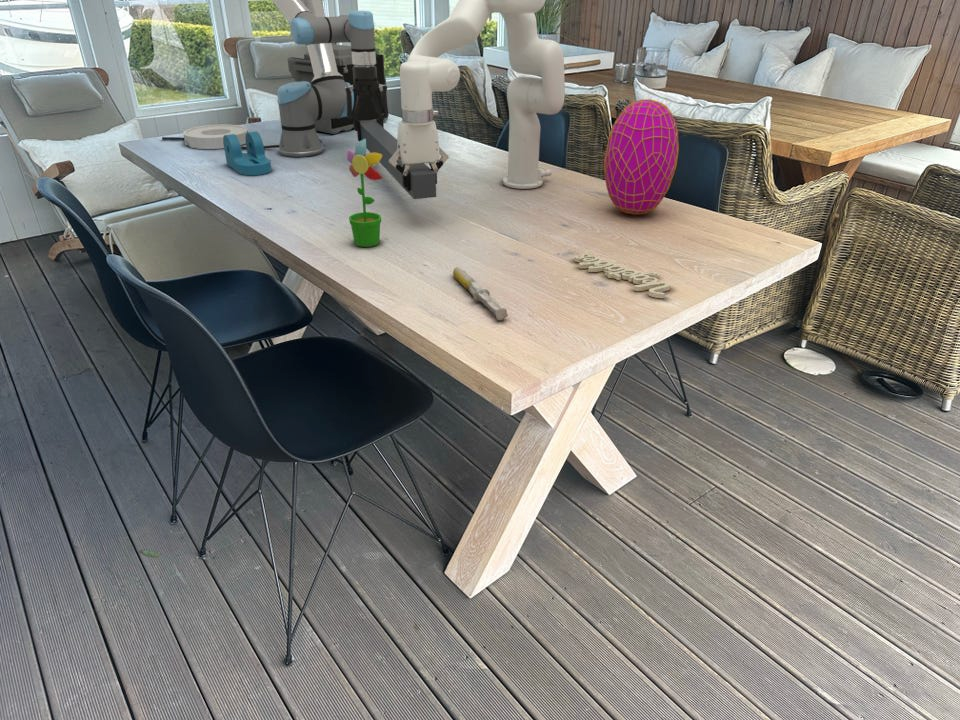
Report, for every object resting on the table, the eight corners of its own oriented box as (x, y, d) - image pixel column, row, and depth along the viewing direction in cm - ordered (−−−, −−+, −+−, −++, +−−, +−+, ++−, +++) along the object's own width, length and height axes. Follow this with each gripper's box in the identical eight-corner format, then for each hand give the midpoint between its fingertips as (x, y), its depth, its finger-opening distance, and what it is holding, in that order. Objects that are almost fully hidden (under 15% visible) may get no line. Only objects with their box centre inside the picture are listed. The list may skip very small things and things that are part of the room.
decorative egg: (646, 228, 182) (662, 110, 167) (585, 212, 193) (596, 100, 178) (681, 212, 194) (699, 100, 179) (622, 197, 206) (635, 91, 190)
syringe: (449, 274, 155) (449, 263, 153) (465, 272, 156) (464, 260, 154) (490, 323, 135) (491, 310, 133) (508, 319, 136) (508, 307, 134)
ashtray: (199, 134, 271) (197, 123, 269) (257, 135, 271) (255, 124, 268) (174, 148, 251) (172, 137, 249) (237, 149, 251) (235, 138, 249)
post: (436, 197, 176) (435, 173, 173) (413, 199, 174) (412, 175, 171) (375, 138, 234) (374, 119, 231) (358, 139, 232) (356, 120, 229)
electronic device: (355, 114, 307) (349, 41, 292) (392, 121, 296) (388, 45, 281) (291, 128, 282) (281, 48, 266) (329, 136, 271) (321, 53, 255)
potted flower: (390, 240, 173) (384, 138, 160) (373, 250, 166) (366, 145, 154) (358, 234, 176) (350, 134, 163) (341, 244, 170) (331, 141, 157)
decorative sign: (686, 282, 150) (660, 295, 144) (686, 286, 150) (659, 300, 144) (592, 249, 166) (565, 259, 160) (592, 253, 167) (565, 263, 161)
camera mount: (227, 164, 233) (221, 132, 227) (257, 160, 238) (252, 129, 233) (244, 176, 220) (239, 143, 215) (276, 172, 225) (271, 139, 220)
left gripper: (390, 63, 223) (394, 135, 235) (332, 65, 218) (339, 139, 230) (396, 66, 217) (400, 140, 229) (336, 68, 212) (343, 144, 223)
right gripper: (446, 111, 174) (447, 181, 184) (379, 115, 169) (384, 187, 179) (455, 116, 168) (456, 189, 178) (386, 121, 163) (391, 196, 172)
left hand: (369, 140), depth 229 cm, fingers closed on post, 6 cm apart
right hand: (420, 187), depth 178 cm, fingers closed on post, 6 cm apart
